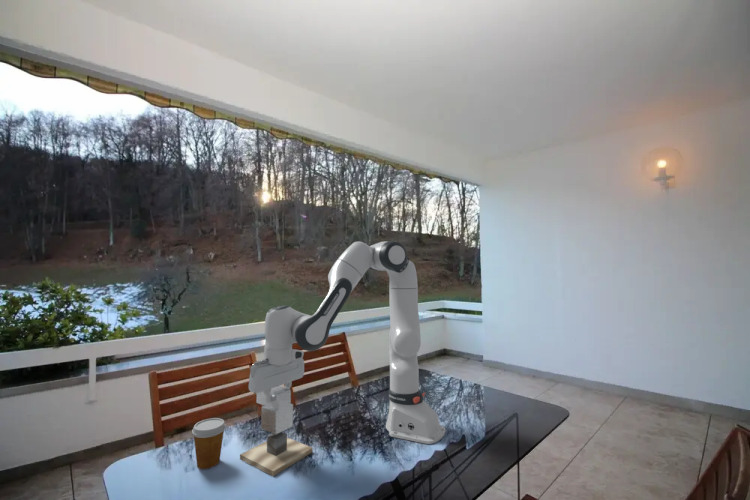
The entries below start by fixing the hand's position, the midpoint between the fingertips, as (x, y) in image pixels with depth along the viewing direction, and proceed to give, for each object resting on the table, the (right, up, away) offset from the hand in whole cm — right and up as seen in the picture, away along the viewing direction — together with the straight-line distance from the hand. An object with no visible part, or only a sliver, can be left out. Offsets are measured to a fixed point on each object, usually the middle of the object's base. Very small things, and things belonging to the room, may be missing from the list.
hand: (277, 398), depth 113 cm
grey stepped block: (-2, -9, +1) cm, 9 cm away
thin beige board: (0, -18, -1) cm, 18 cm away
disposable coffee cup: (-20, -18, -5) cm, 27 cm away
